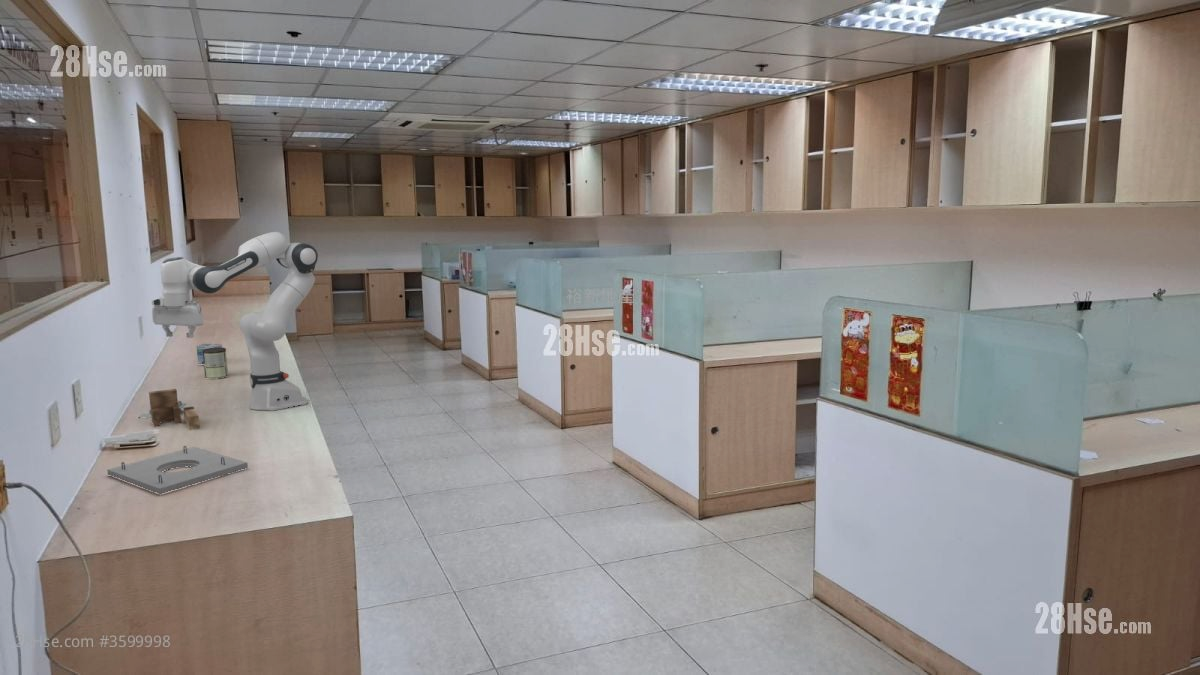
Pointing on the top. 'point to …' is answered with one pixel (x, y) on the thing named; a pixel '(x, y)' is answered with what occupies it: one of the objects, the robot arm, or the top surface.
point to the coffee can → (215, 363)
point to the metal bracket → (150, 410)
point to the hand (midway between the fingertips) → (179, 337)
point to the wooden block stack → (164, 407)
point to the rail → (191, 418)
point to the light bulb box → (202, 347)
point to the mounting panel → (161, 482)
